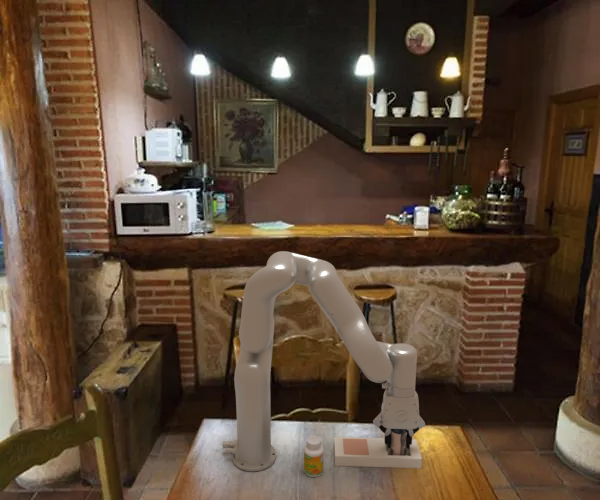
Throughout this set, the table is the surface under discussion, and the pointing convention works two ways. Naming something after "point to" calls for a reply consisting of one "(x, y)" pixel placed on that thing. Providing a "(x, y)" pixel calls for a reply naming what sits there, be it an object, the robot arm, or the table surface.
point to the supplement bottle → (313, 457)
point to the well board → (373, 453)
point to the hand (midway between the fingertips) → (397, 445)
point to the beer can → (398, 442)
